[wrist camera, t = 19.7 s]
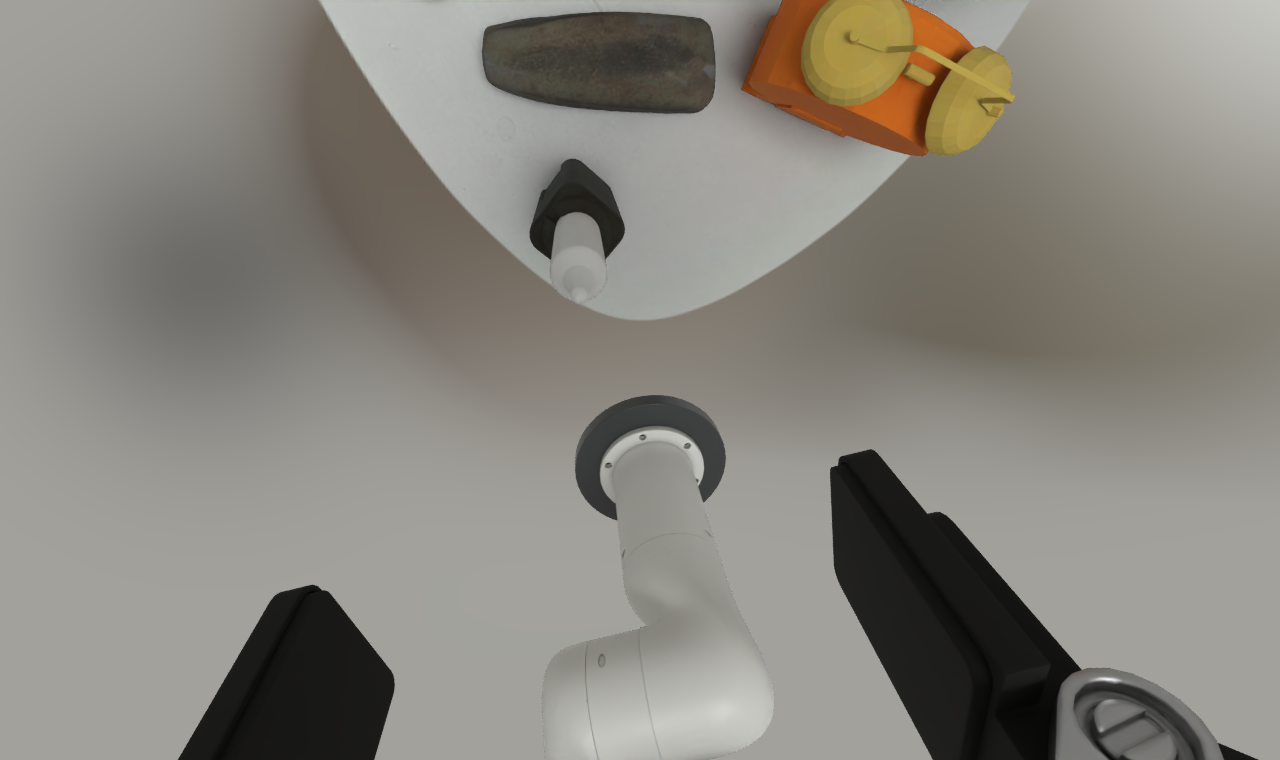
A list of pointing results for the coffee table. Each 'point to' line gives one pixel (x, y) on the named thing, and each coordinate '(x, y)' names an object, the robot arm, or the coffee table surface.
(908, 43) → the alarm clock
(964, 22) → the coffee table surface
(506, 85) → the decorative stone
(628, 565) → the robot arm
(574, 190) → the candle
